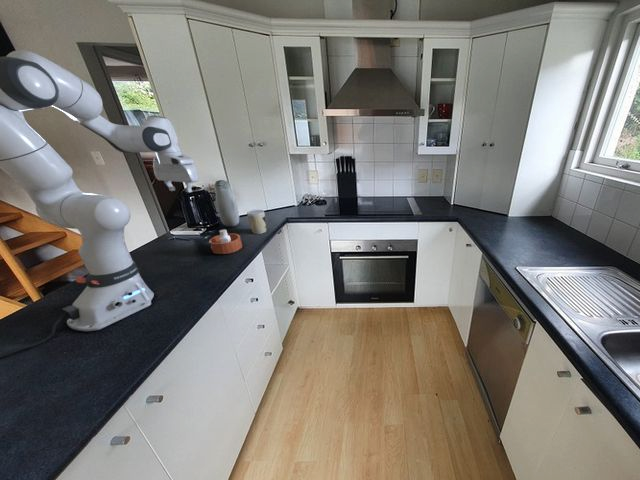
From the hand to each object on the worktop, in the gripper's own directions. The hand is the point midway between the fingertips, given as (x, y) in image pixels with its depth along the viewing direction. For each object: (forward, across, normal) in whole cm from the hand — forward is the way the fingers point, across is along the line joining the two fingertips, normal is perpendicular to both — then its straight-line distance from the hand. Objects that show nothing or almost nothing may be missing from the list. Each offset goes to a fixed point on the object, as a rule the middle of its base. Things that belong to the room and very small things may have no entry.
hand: (181, 191), depth 122 cm
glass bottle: (+30, -13, +36) cm, 48 cm away
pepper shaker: (+30, +11, +7) cm, 32 cm away
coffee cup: (+30, +9, +33) cm, 45 cm away
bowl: (+30, +11, +7) cm, 33 cm away
